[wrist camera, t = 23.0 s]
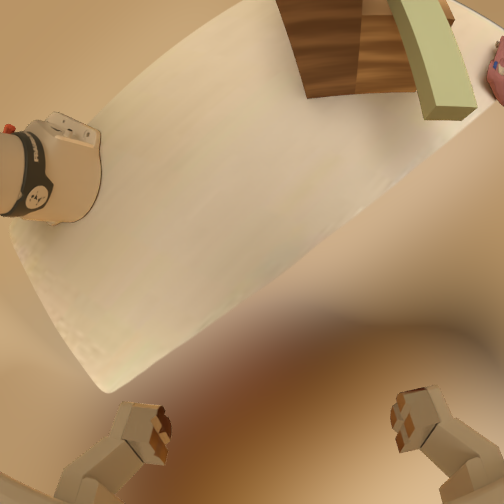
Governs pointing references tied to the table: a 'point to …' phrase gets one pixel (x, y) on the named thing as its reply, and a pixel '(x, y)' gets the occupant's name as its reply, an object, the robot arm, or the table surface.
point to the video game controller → (497, 72)
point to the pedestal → (348, 46)
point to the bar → (434, 60)
